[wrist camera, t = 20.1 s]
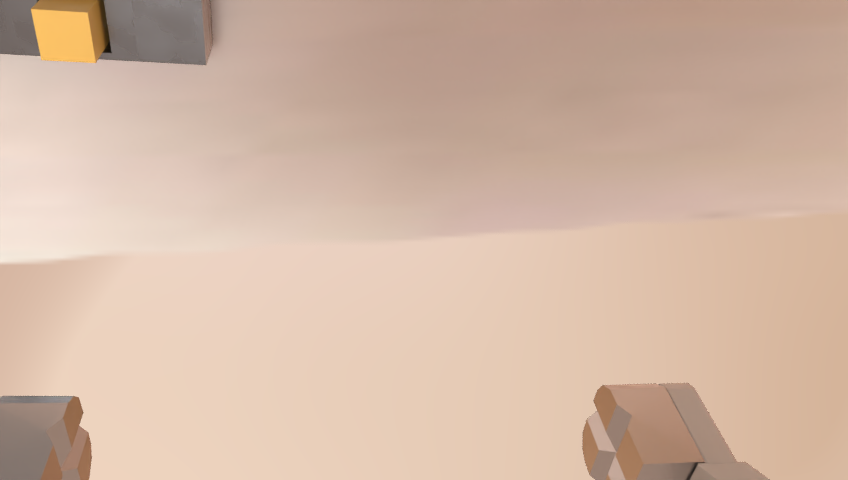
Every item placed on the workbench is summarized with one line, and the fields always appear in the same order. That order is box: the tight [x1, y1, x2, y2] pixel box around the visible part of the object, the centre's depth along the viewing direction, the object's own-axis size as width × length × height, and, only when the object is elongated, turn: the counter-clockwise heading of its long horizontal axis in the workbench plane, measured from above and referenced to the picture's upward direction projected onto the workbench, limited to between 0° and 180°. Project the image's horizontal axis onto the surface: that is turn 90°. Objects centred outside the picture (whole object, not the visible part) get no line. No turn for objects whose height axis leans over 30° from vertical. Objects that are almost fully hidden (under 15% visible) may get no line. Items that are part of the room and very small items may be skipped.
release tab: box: [31, 0, 110, 63], centre depth 35 cm, size 2×2×4 cm
